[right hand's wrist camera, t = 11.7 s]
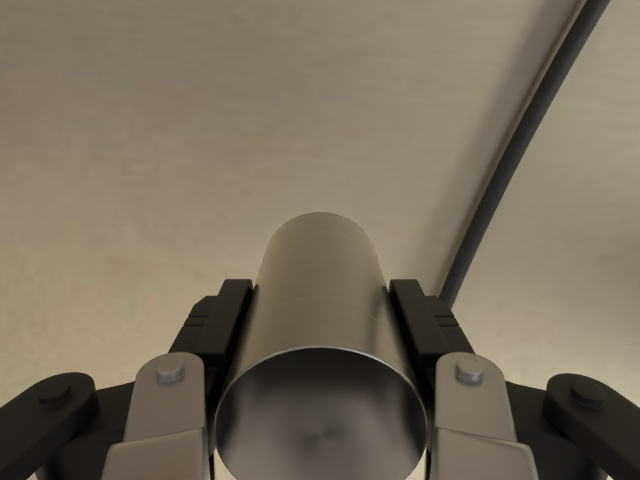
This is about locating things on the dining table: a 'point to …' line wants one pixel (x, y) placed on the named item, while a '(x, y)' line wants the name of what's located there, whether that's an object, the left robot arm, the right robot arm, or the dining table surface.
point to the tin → (320, 366)
